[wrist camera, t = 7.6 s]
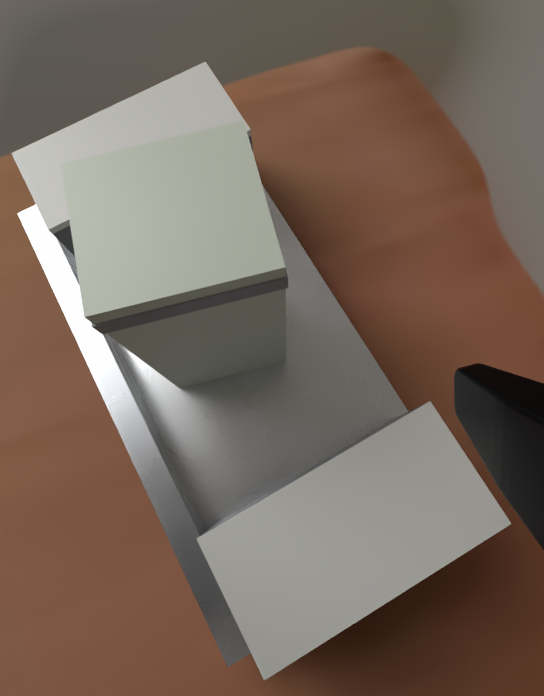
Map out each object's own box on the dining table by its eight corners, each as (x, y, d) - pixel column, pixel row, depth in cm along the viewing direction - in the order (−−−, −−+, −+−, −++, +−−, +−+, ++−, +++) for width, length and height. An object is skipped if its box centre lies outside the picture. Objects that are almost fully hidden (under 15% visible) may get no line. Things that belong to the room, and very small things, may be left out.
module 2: (456, 510, 17) (511, 523, 13) (270, 626, 16) (264, 680, 12) (397, 416, 18) (430, 401, 14) (218, 522, 17) (196, 538, 13)
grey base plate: (453, 500, 18) (484, 506, 16) (237, 634, 17) (227, 667, 15) (233, 156, 23) (226, 111, 20) (53, 247, 22) (17, 213, 19)
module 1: (257, 197, 21) (250, 129, 17) (98, 279, 20) (47, 229, 16) (221, 140, 22) (205, 61, 17) (66, 216, 21) (11, 153, 17)
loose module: (287, 362, 19) (288, 268, 10) (178, 389, 18) (82, 319, 10) (263, 273, 20) (245, 118, 11) (160, 298, 20) (58, 162, 11)
